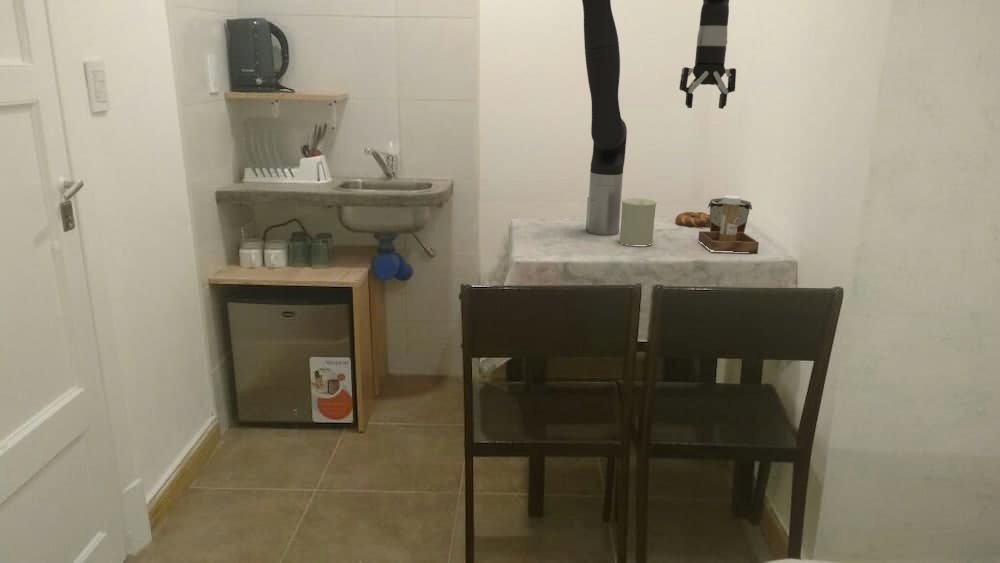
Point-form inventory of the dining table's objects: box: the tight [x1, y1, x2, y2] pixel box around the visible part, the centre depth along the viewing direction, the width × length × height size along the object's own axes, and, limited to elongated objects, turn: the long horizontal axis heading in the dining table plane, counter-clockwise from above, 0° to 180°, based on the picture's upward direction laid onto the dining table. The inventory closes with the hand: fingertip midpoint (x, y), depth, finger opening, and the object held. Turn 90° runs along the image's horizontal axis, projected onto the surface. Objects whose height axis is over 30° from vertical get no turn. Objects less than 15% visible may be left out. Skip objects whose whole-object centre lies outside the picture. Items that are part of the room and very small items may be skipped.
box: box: [698, 230, 760, 254], centre depth 198 cm, size 12×12×3 cm
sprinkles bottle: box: [719, 194, 742, 242], centre depth 196 cm, size 5×5×14 cm
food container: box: [707, 197, 753, 233], centre depth 213 cm, size 12×6×10 cm, turn 84°
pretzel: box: [674, 211, 710, 228], centre depth 225 cm, size 12×11×4 cm
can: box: [618, 198, 657, 245], centre depth 199 cm, size 9×9×12 cm
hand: (705, 108), depth 196 cm, fingers open, 8 cm apart
